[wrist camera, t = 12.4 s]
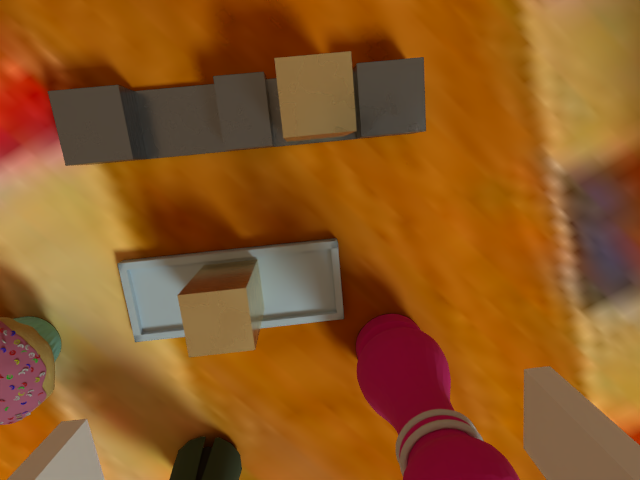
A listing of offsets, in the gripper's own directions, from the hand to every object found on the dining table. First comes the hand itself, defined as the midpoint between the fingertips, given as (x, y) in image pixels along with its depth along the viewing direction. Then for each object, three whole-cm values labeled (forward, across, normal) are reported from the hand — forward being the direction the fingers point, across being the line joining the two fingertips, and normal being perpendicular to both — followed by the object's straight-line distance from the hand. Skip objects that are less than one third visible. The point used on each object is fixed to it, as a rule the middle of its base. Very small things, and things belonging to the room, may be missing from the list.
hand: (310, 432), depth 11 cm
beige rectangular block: (+21, +7, +2) cm, 22 cm away
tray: (+21, +7, +2) cm, 22 cm away
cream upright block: (+21, -2, -12) cm, 24 cm away
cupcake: (+21, +25, +5) cm, 33 cm away
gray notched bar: (+21, +4, -12) cm, 24 cm away
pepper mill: (+22, -6, +10) cm, 25 cm away
